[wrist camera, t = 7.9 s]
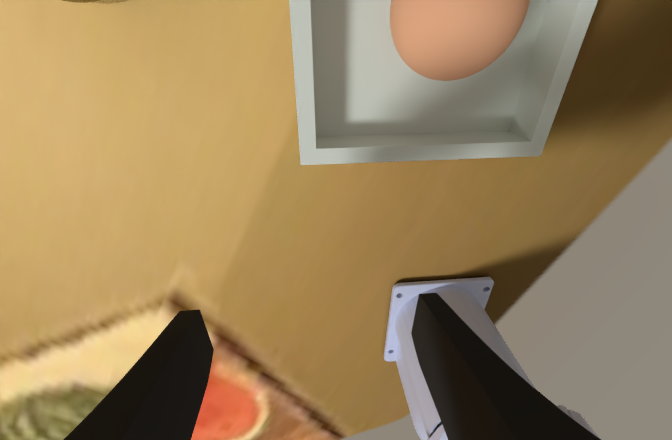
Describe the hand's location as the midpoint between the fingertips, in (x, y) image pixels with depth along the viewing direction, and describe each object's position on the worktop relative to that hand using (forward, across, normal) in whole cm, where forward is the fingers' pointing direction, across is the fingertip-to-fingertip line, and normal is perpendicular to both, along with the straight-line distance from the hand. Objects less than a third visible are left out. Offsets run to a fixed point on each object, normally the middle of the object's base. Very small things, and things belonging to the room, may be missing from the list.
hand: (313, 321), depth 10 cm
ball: (+9, -6, -9) cm, 14 cm away
